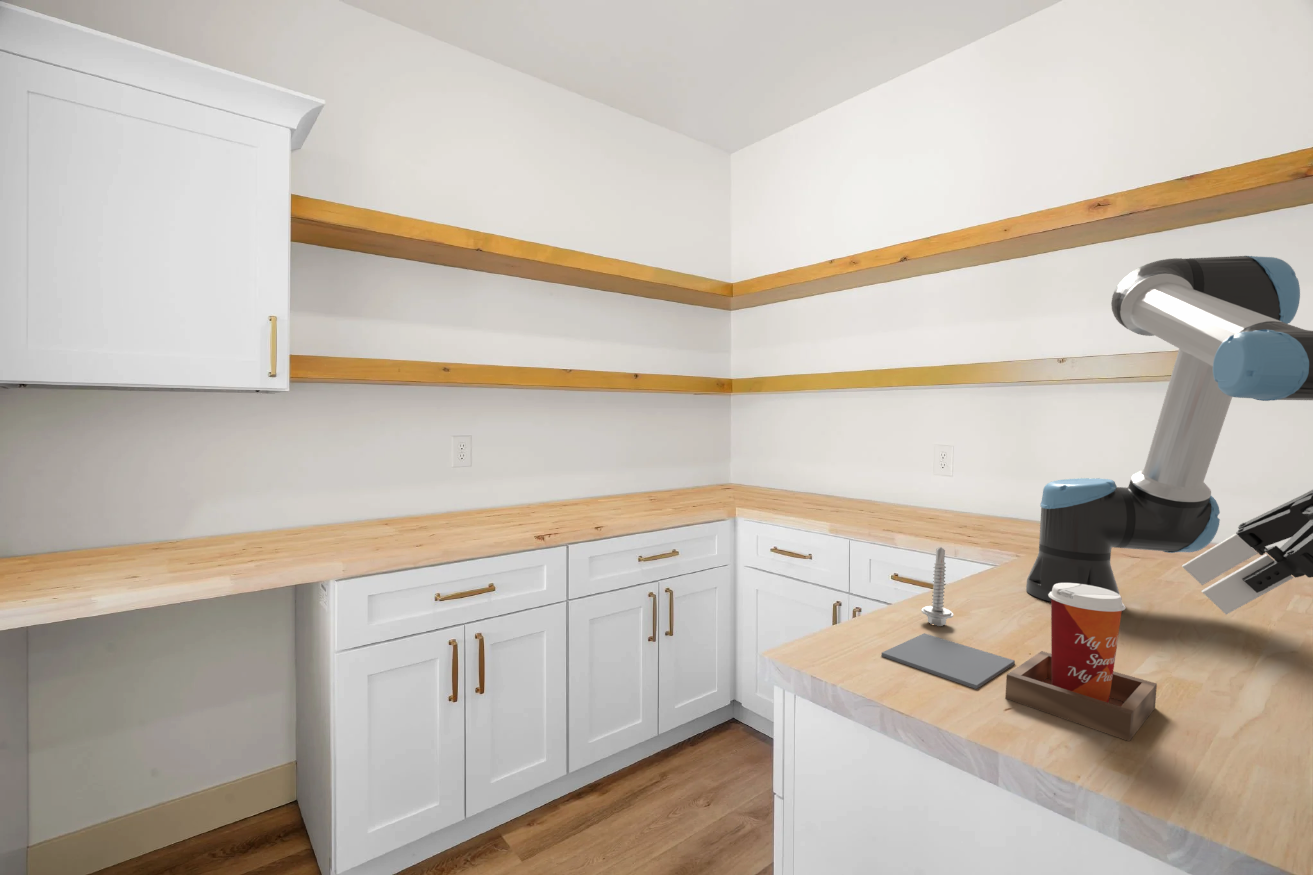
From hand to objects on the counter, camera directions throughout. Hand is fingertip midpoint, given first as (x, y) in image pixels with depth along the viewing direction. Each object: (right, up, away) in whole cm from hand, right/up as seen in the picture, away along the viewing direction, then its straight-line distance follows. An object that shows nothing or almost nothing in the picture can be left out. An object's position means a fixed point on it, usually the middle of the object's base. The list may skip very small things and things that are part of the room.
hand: (1201, 588), depth 69 cm
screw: (-14, -14, +34) cm, 39 cm away
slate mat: (-19, -15, +19) cm, 31 cm away
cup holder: (-9, -16, +7) cm, 19 cm away
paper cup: (-9, -16, +7) cm, 19 cm away
